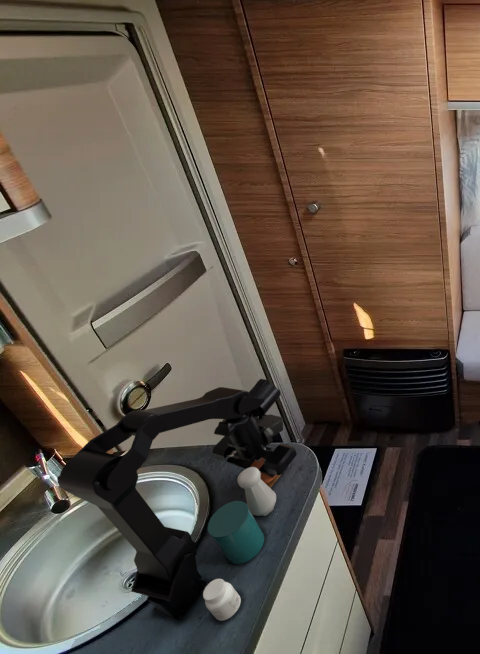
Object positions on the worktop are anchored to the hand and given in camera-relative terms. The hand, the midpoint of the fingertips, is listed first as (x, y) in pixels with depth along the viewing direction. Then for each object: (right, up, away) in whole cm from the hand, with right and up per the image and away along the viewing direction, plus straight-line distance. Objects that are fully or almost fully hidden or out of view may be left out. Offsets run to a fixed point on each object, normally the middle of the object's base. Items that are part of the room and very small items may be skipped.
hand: (265, 473), depth 101 cm
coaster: (0, -1, +1) cm, 2 cm away
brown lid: (0, -1, 0) cm, 1 cm away
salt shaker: (+3, -6, -5) cm, 8 cm away
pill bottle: (+5, -16, -22) cm, 27 cm away
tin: (+3, -10, -13) cm, 16 cm away
